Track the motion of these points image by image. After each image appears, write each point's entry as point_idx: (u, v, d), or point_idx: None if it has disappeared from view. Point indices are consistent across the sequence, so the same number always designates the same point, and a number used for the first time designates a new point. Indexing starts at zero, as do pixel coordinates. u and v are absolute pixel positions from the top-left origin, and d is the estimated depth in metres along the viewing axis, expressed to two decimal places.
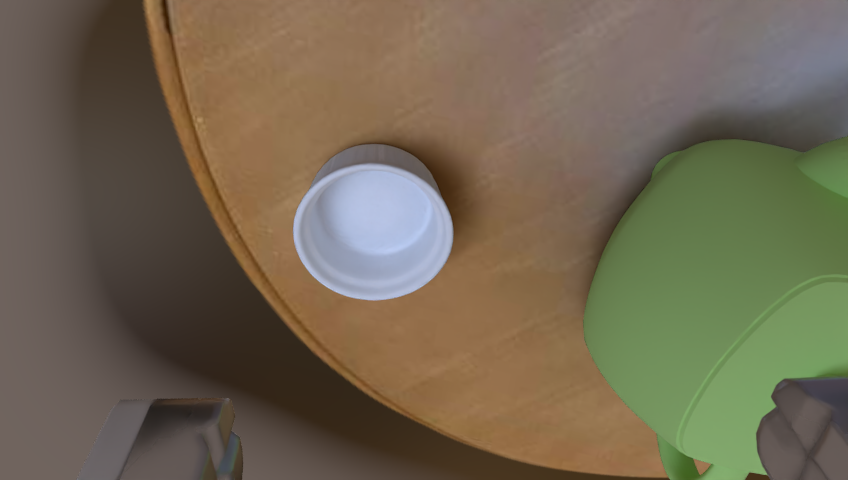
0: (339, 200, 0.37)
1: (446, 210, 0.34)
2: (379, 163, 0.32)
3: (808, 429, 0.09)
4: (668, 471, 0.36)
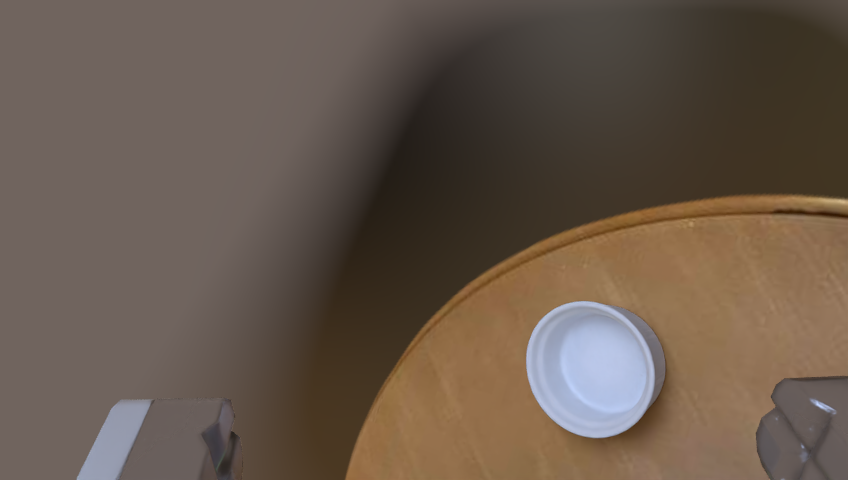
0: (613, 332, 0.43)
1: (609, 435, 0.39)
2: (654, 385, 0.38)
3: (808, 429, 0.09)
4: None
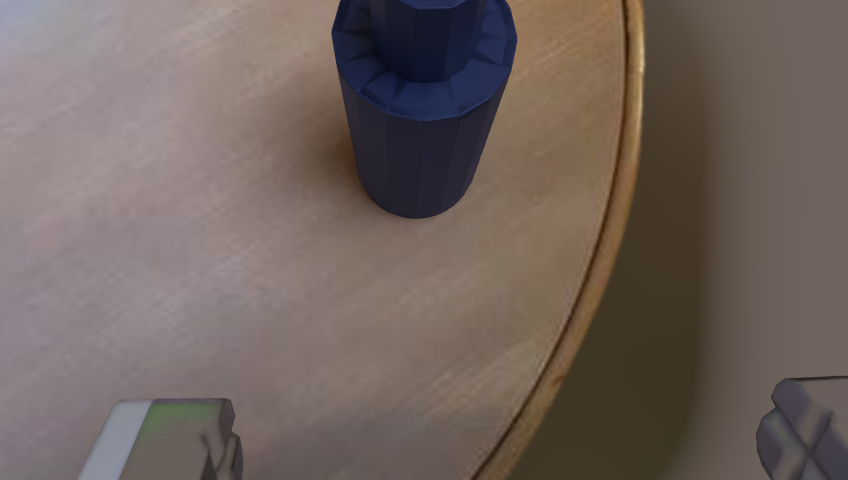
0: None
1: None
2: None
3: (808, 429, 0.09)
4: None
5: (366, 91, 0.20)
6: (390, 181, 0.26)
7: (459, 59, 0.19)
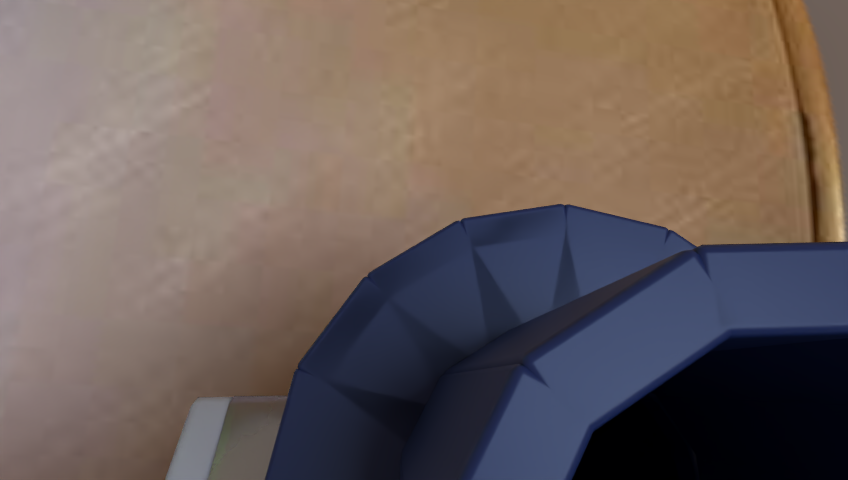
0: None
1: None
2: None
3: None
4: None
5: None
6: None
7: None
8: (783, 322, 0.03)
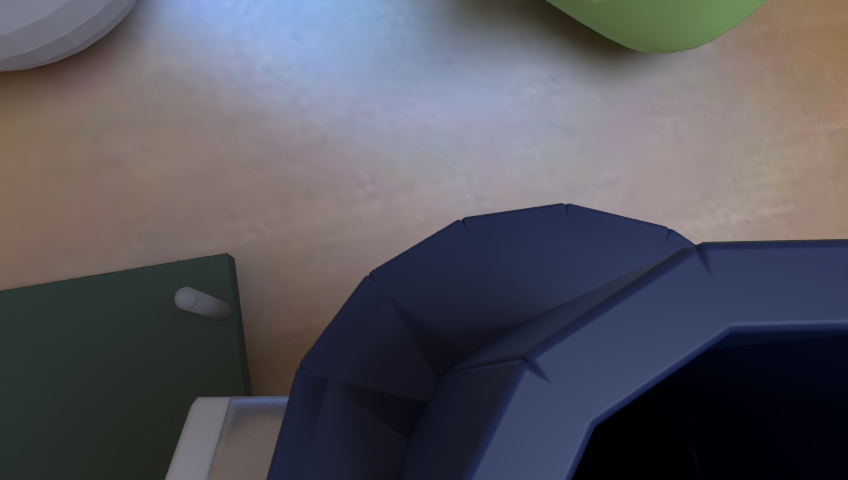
0: None
1: None
2: None
3: None
4: None
5: None
6: None
7: None
8: (783, 319, 0.03)
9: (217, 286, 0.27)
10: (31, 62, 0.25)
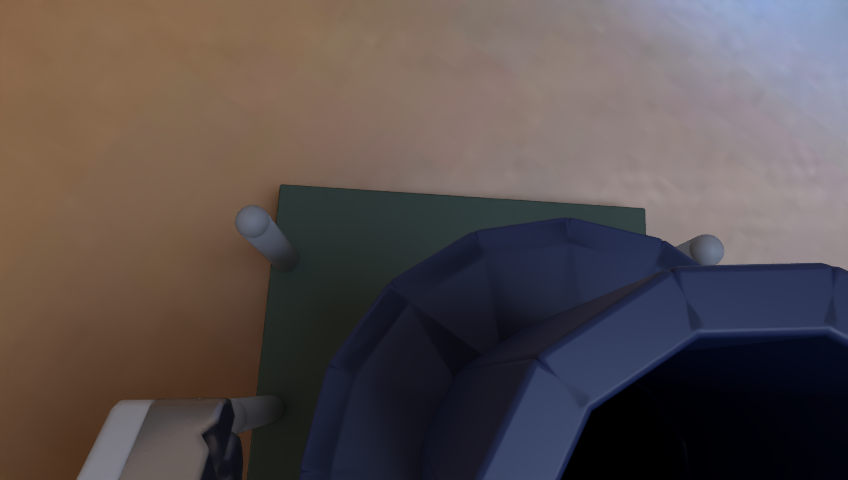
0: None
1: None
2: None
3: None
4: None
5: None
6: None
7: None
8: (739, 327, 0.03)
9: None
10: None
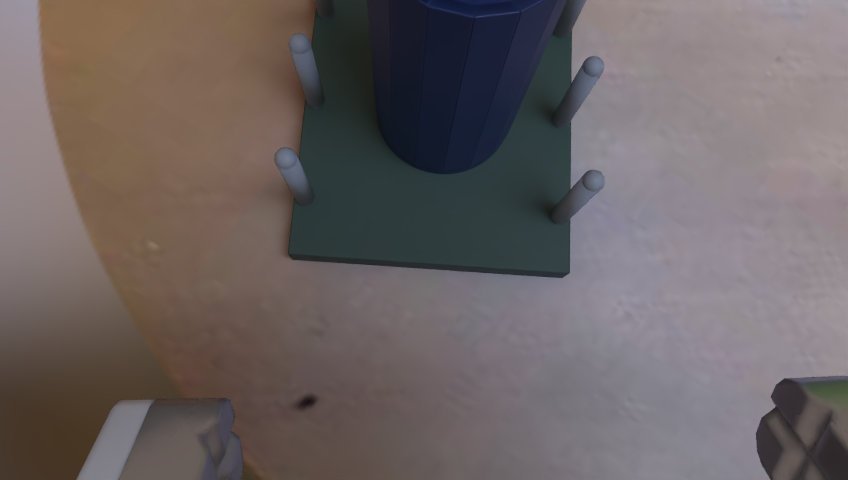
0: None
1: None
2: None
3: (808, 429, 0.09)
4: None
5: None
6: (419, 119, 0.22)
7: None
8: None
9: None
10: None
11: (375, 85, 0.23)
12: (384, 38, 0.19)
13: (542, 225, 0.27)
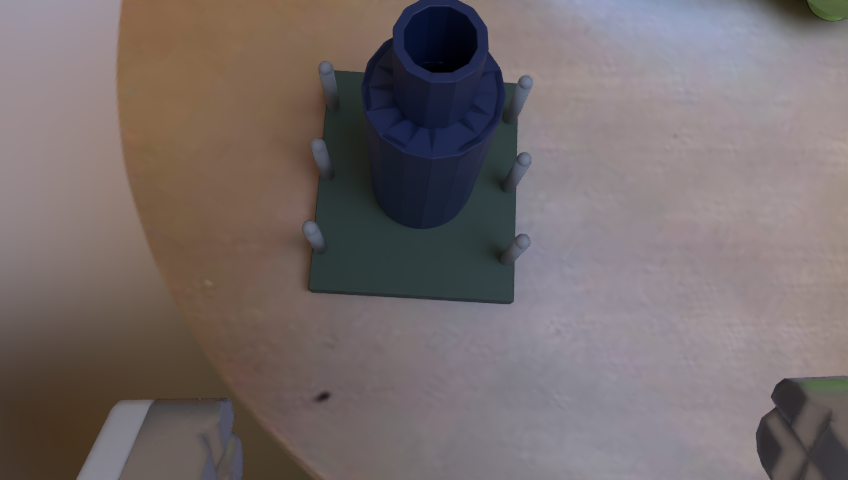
0: None
1: None
2: None
3: (808, 429, 0.09)
4: None
5: (387, 134, 0.25)
6: (401, 200, 0.32)
7: (460, 112, 0.25)
8: (435, 4, 0.22)
9: (508, 102, 0.39)
10: None
11: (371, 173, 0.33)
12: (377, 156, 0.28)
13: (493, 266, 0.37)
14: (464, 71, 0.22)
